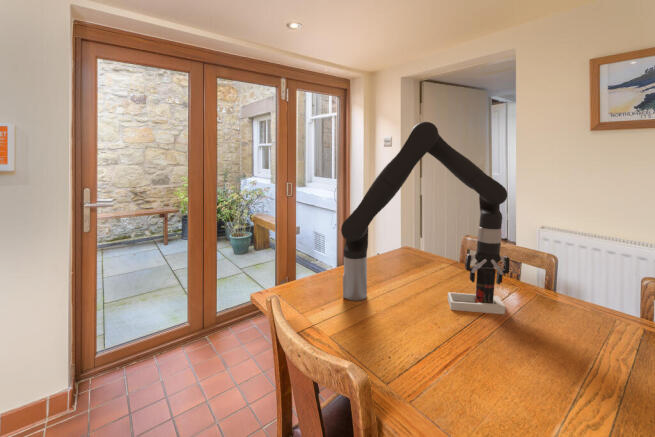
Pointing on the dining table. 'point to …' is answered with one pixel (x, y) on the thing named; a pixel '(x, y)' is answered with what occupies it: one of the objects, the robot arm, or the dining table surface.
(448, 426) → the dining table surface
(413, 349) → the dining table surface
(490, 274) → the deodorant
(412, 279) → the dining table surface
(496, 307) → the white rectangular frame
